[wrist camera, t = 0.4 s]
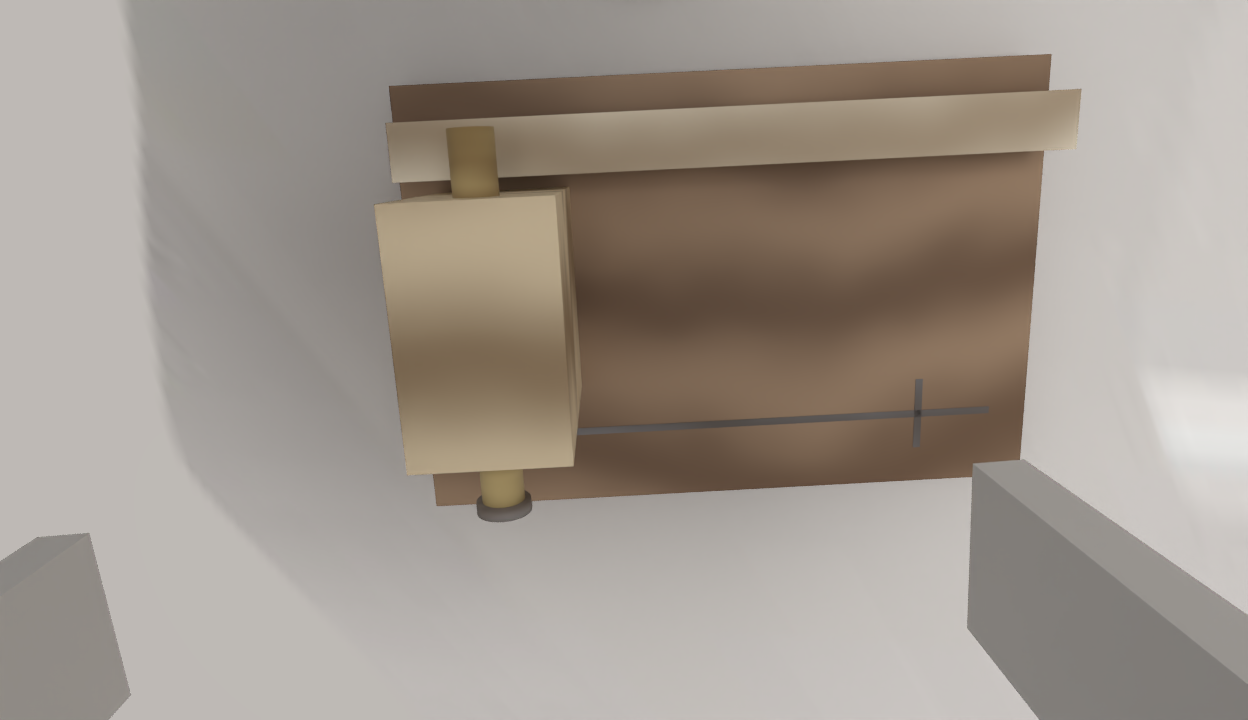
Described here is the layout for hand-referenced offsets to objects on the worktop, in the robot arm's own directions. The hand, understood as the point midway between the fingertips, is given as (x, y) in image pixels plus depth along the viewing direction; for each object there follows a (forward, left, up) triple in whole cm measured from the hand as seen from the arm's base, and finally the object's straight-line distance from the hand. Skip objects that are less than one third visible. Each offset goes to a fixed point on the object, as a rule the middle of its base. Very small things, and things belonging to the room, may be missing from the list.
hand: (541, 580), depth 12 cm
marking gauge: (-1, -3, -21) cm, 21 cm away
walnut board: (-1, +6, -23) cm, 23 cm away
